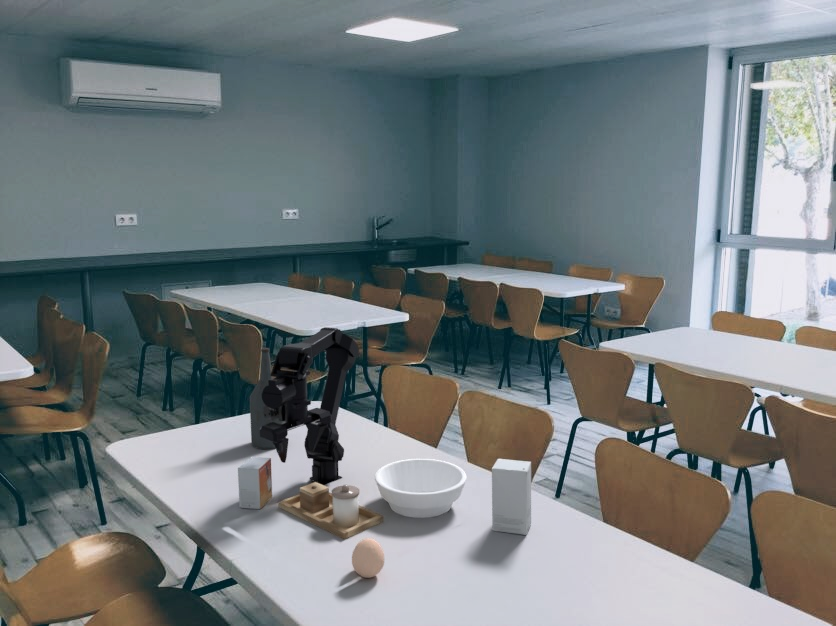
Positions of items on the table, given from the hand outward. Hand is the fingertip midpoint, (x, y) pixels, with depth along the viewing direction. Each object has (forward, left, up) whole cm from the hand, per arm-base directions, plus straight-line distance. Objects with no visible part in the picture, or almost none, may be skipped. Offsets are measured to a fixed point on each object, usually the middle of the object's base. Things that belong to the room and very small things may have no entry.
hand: (297, 456), depth 183 cm
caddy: (+1, +13, -12) cm, 17 cm away
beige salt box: (+1, +7, -11) cm, 13 cm away
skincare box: (-24, +48, -12) cm, 55 cm away
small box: (+8, -7, -12) cm, 16 cm away
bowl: (-18, +25, -12) cm, 33 cm away
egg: (+13, +39, -12) cm, 43 cm away
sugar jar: (+1, +19, -11) cm, 22 cm away
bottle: (-19, -39, -12) cm, 45 cm away
